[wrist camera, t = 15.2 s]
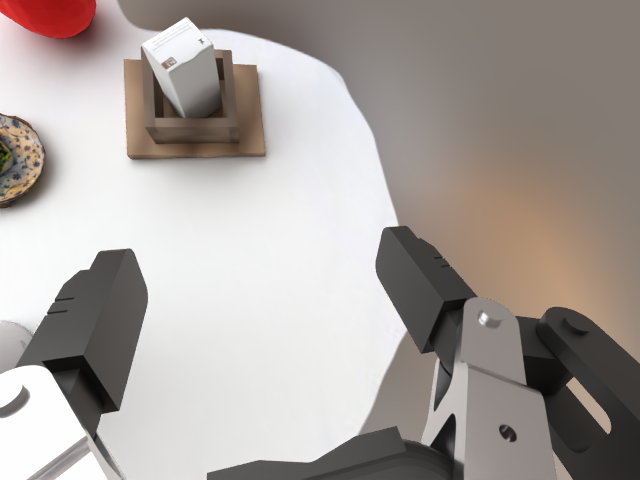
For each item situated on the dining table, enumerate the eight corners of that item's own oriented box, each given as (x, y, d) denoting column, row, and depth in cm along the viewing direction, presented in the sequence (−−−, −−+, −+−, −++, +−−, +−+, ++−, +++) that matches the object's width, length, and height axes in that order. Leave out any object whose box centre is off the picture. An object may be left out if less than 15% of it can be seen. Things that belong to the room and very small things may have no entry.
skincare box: (203, 84, 44) (186, 11, 33) (225, 107, 45) (215, 42, 33) (168, 108, 43) (137, 40, 31) (190, 132, 43) (168, 73, 31)
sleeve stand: (130, 158, 42) (112, 138, 36) (127, 65, 44) (109, 33, 38) (264, 155, 46) (266, 137, 40) (256, 70, 48) (256, 42, 42)
